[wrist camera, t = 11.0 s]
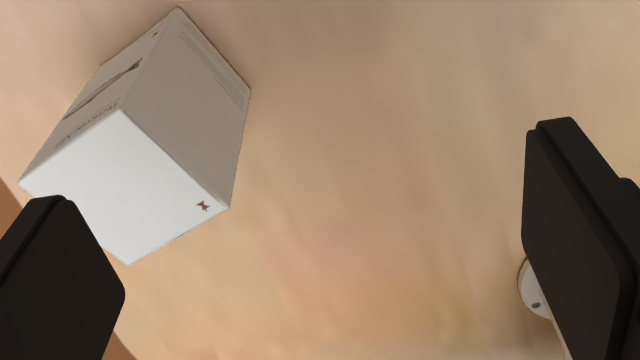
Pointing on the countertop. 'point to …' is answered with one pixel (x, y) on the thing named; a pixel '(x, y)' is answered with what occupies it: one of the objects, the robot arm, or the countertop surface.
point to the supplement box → (148, 142)
